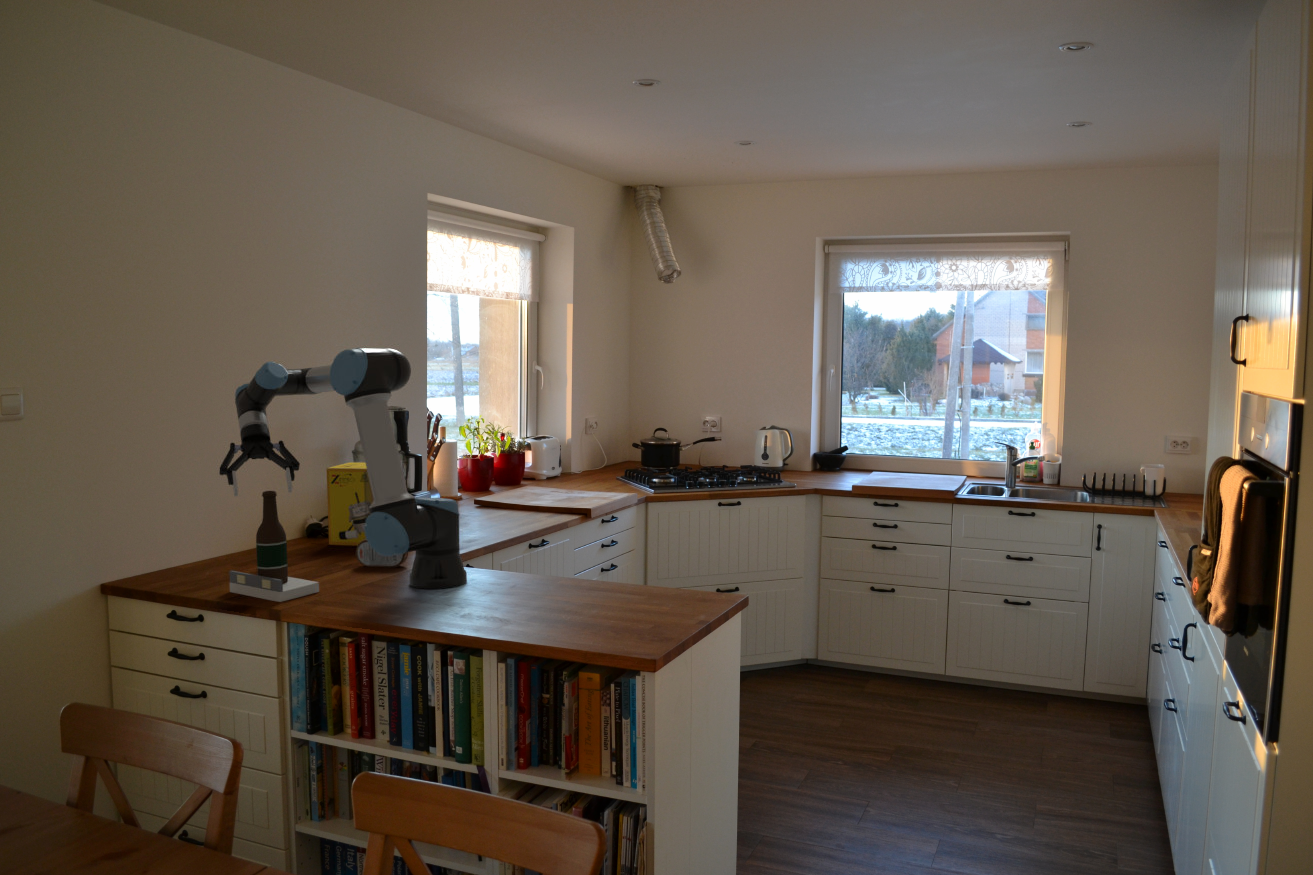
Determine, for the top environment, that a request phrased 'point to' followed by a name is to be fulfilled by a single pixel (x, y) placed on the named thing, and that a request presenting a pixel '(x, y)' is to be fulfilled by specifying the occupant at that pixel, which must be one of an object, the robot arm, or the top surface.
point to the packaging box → (348, 503)
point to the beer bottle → (271, 542)
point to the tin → (377, 557)
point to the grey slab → (270, 586)
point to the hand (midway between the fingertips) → (263, 491)
